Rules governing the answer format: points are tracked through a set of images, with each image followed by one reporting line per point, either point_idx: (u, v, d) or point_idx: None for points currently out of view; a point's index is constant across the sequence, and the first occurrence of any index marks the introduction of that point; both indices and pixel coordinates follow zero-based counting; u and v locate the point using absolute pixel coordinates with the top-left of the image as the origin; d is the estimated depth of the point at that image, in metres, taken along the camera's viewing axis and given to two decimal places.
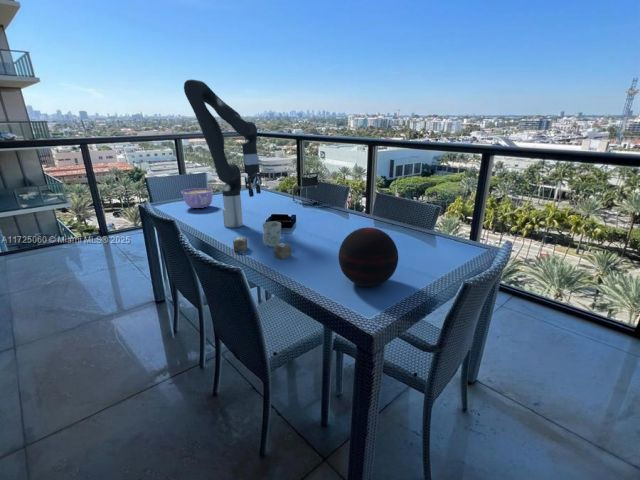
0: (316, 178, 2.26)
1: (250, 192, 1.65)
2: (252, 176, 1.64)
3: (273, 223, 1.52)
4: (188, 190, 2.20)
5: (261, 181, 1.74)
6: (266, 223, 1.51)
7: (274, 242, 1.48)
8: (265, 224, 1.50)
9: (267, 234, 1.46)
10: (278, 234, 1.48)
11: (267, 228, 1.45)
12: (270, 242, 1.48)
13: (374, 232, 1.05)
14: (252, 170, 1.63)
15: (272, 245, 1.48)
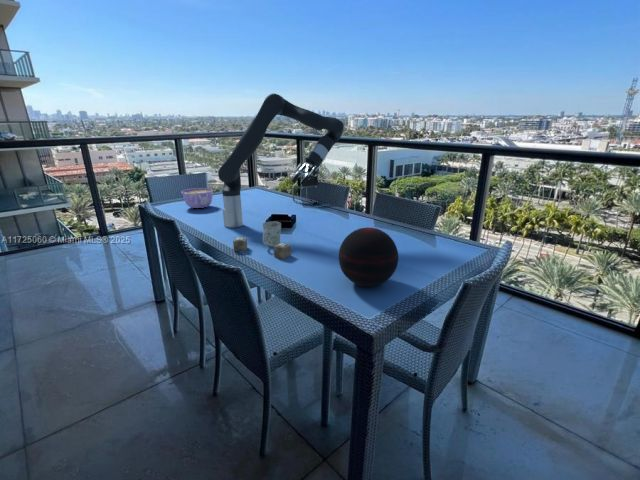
0: (316, 178, 2.26)
1: (305, 181, 1.49)
2: None
3: (273, 223, 1.52)
4: (188, 190, 2.20)
5: (298, 173, 1.58)
6: (266, 223, 1.51)
7: (274, 242, 1.48)
8: (265, 224, 1.50)
9: (267, 234, 1.46)
10: (278, 234, 1.48)
11: (267, 228, 1.45)
12: (270, 242, 1.48)
13: (374, 232, 1.05)
14: (319, 164, 1.53)
15: (272, 245, 1.48)
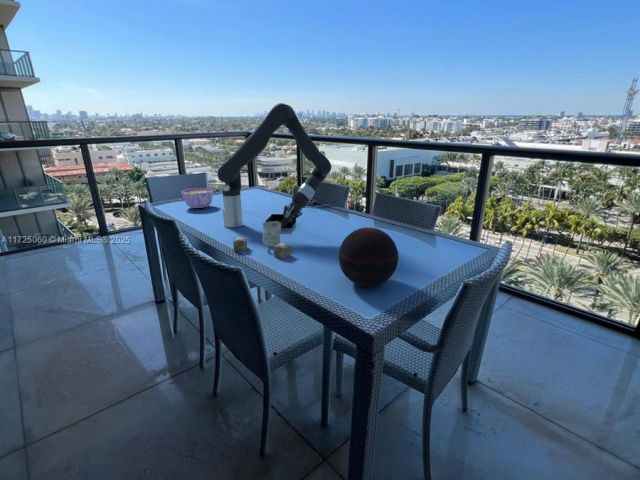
0: None
1: (287, 222, 1.50)
2: None
3: (273, 223, 1.52)
4: (188, 190, 2.20)
5: None
6: (266, 223, 1.51)
7: (274, 242, 1.48)
8: (265, 224, 1.50)
9: (267, 234, 1.46)
10: (278, 234, 1.48)
11: (267, 228, 1.45)
12: (270, 242, 1.48)
13: (374, 232, 1.05)
14: (305, 204, 1.51)
15: (272, 245, 1.48)
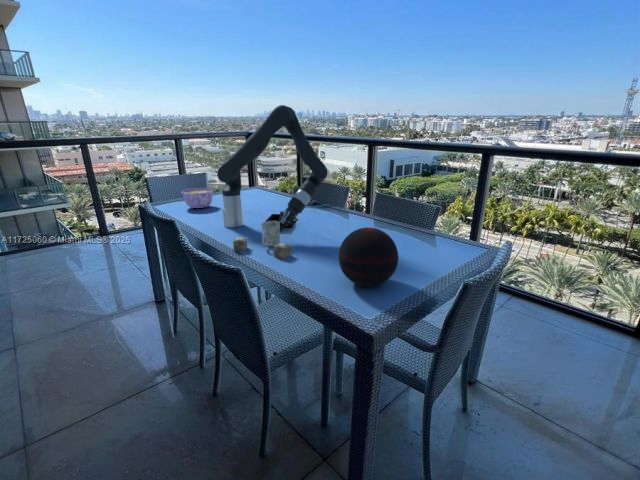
0: None
1: (282, 228, 1.49)
2: None
3: (272, 223, 1.52)
4: (188, 190, 2.20)
5: None
6: (265, 223, 1.50)
7: (274, 242, 1.48)
8: (264, 224, 1.50)
9: (266, 234, 1.46)
10: (277, 234, 1.47)
11: (266, 229, 1.45)
12: (270, 242, 1.48)
13: (374, 232, 1.05)
14: (301, 210, 1.51)
15: (272, 245, 1.48)
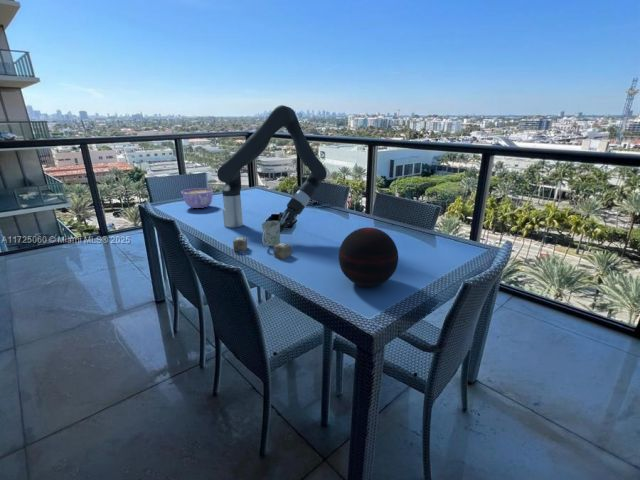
0: None
1: (281, 229, 1.49)
2: None
3: (272, 223, 1.51)
4: (188, 190, 2.20)
5: None
6: (265, 223, 1.50)
7: (274, 242, 1.48)
8: (264, 224, 1.50)
9: (266, 234, 1.46)
10: (278, 233, 1.47)
11: (266, 229, 1.45)
12: (270, 242, 1.48)
13: (374, 232, 1.05)
14: (300, 211, 1.51)
15: (272, 245, 1.49)
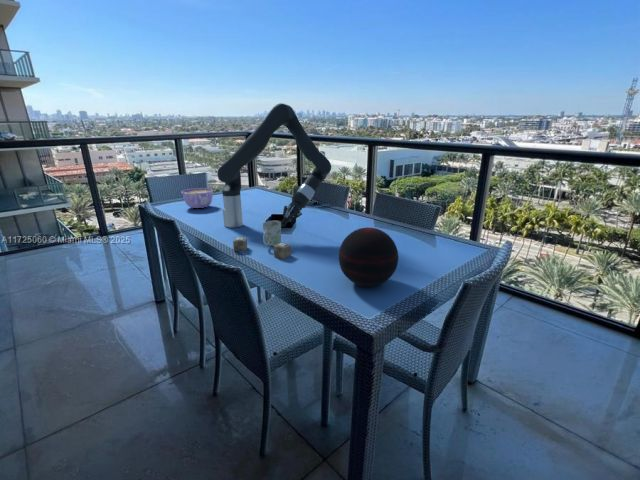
0: None
1: (286, 222, 1.50)
2: None
3: (273, 223, 1.52)
4: (188, 190, 2.20)
5: None
6: (266, 223, 1.50)
7: (275, 241, 1.48)
8: (265, 224, 1.50)
9: (267, 234, 1.46)
10: (278, 233, 1.48)
11: (267, 229, 1.45)
12: (271, 241, 1.48)
13: (374, 232, 1.05)
14: (305, 204, 1.51)
15: (273, 245, 1.49)
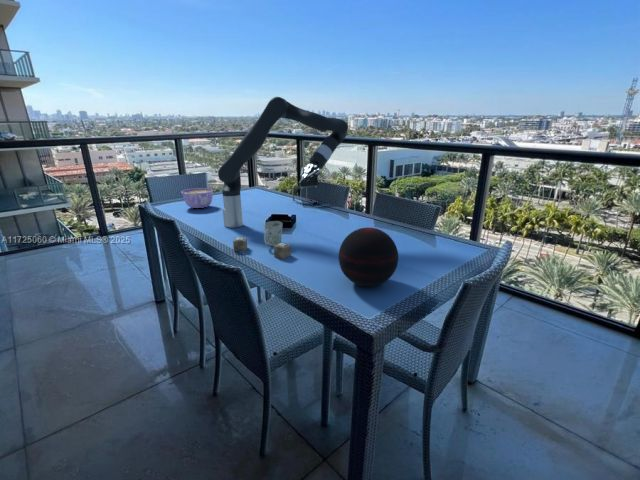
0: (316, 178, 2.26)
1: (304, 182, 1.51)
2: None
3: (275, 223, 1.52)
4: (188, 190, 2.20)
5: None
6: (267, 223, 1.51)
7: (276, 242, 1.48)
8: (266, 224, 1.51)
9: (268, 234, 1.47)
10: (279, 234, 1.48)
11: (269, 228, 1.45)
12: (271, 241, 1.48)
13: (374, 232, 1.05)
14: (323, 165, 1.52)
15: (273, 245, 1.49)
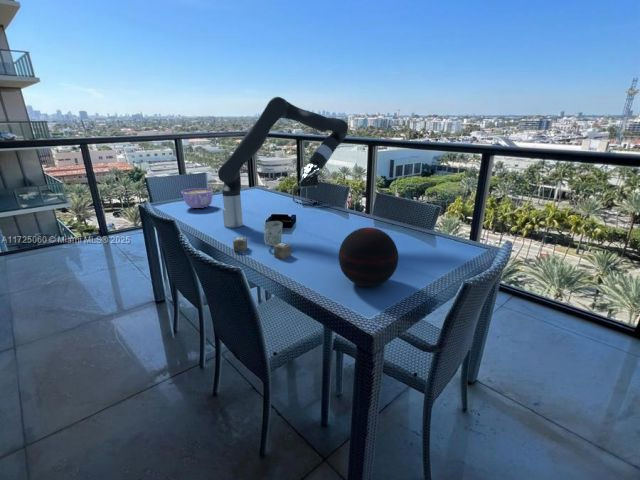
0: (316, 178, 2.26)
1: (304, 182, 1.51)
2: None
3: (275, 223, 1.52)
4: (188, 190, 2.20)
5: None
6: (267, 223, 1.51)
7: (276, 242, 1.48)
8: (266, 224, 1.51)
9: (268, 234, 1.47)
10: (279, 234, 1.48)
11: (269, 228, 1.45)
12: (271, 241, 1.48)
13: (374, 232, 1.05)
14: (323, 165, 1.52)
15: (273, 245, 1.49)
